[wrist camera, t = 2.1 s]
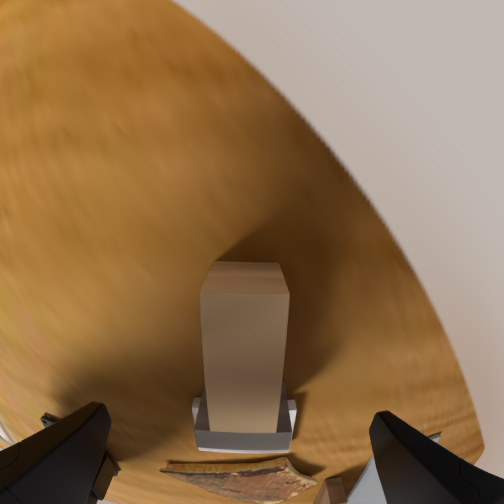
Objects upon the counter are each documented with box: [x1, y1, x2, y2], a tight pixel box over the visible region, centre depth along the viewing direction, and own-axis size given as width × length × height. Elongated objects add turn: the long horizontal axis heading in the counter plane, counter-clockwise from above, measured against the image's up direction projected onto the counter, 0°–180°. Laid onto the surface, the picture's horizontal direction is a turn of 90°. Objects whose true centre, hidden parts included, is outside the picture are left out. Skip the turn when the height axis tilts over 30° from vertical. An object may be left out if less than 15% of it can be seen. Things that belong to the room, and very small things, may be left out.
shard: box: [159, 457, 317, 504], centre depth 17 cm, size 11×8×2 cm
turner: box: [192, 261, 297, 453], centre depth 13 cm, size 13×6×4 cm, turn 179°
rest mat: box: [347, 434, 440, 504], centre depth 18 cm, size 7×14×1 cm, turn 179°
